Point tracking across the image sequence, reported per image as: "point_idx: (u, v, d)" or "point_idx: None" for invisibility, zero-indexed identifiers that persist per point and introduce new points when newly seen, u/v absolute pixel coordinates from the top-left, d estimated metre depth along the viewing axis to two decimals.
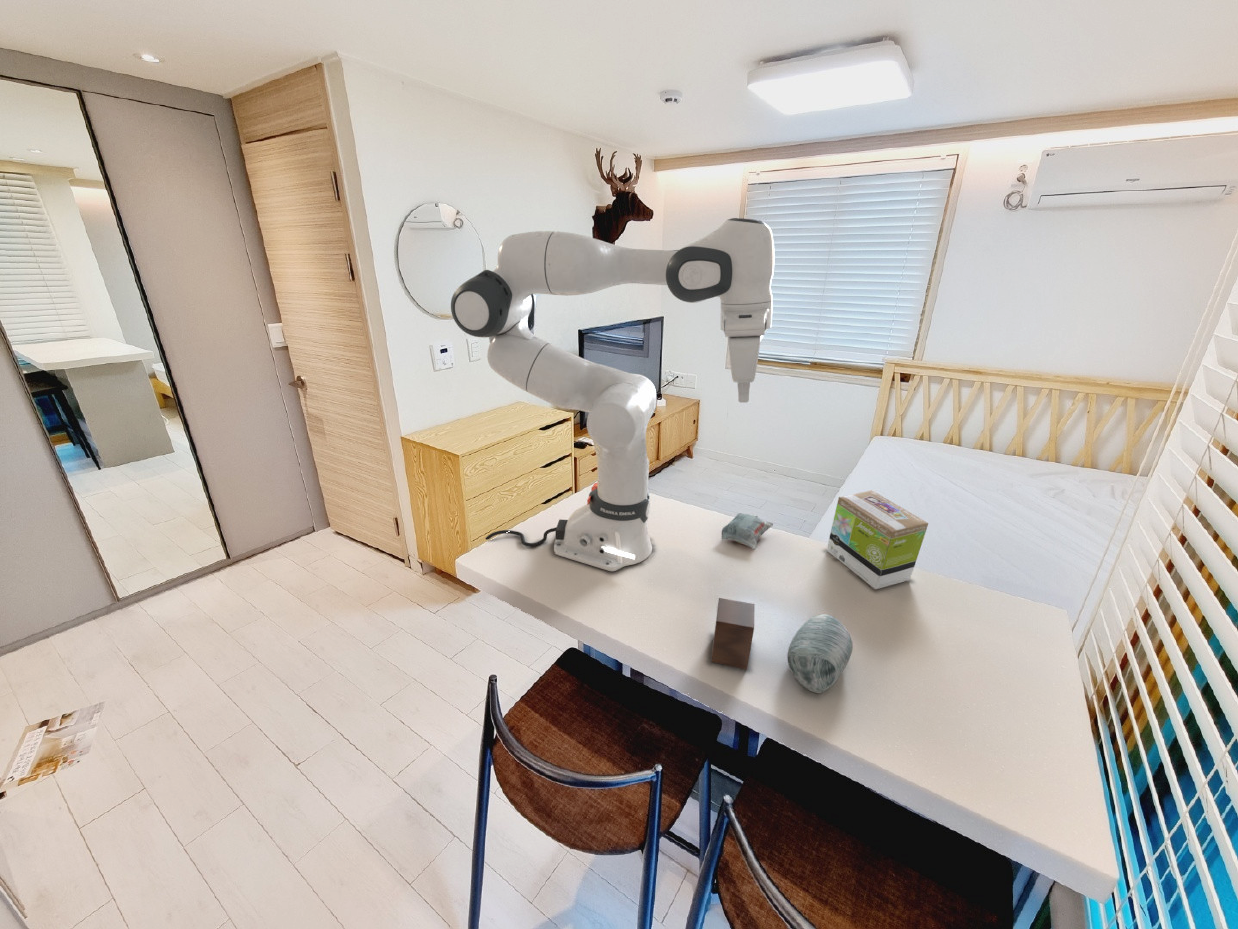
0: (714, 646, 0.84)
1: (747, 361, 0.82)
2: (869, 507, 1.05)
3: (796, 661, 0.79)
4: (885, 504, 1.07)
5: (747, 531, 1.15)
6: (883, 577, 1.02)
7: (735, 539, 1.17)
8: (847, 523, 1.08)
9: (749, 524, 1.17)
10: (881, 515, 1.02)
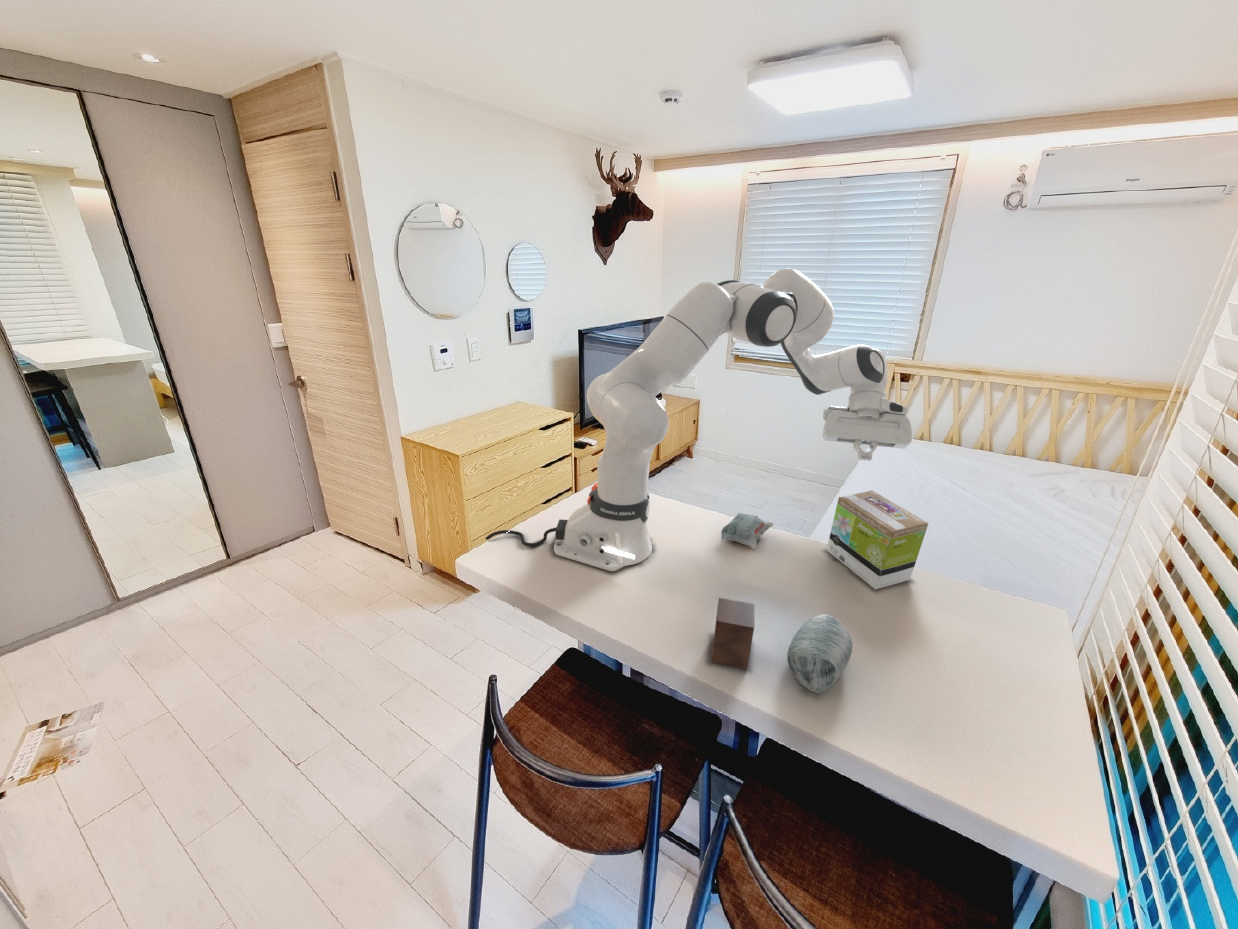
0: (714, 646, 0.84)
1: None
2: (869, 507, 1.05)
3: (796, 661, 0.79)
4: (885, 504, 1.07)
5: (747, 531, 1.15)
6: (883, 577, 1.02)
7: (735, 539, 1.17)
8: (847, 523, 1.08)
9: (749, 524, 1.17)
10: (881, 515, 1.02)
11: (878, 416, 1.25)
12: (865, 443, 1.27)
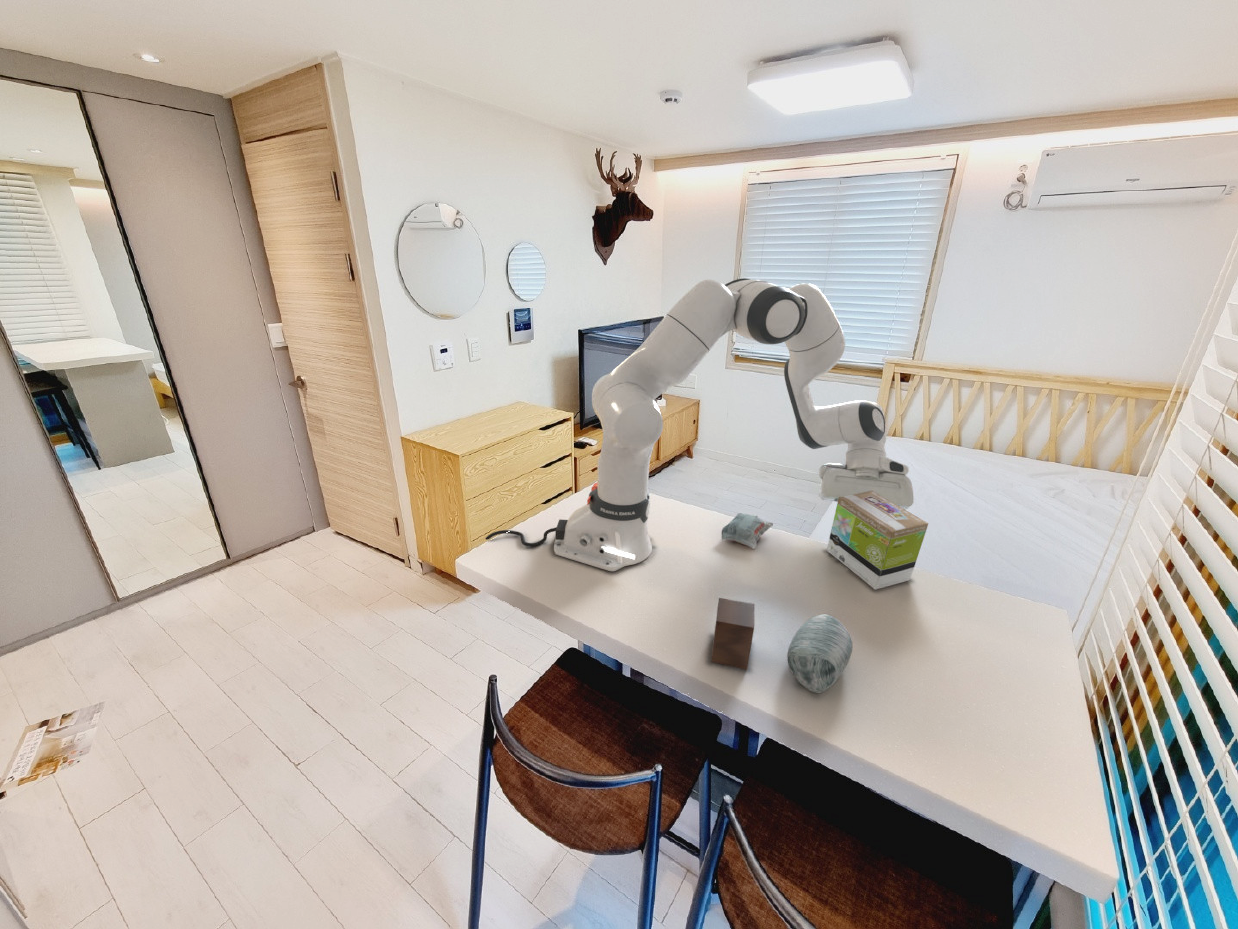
0: (714, 646, 0.84)
1: None
2: (869, 508, 1.05)
3: (796, 661, 0.79)
4: (885, 504, 1.06)
5: (747, 531, 1.15)
6: (883, 578, 1.02)
7: (735, 539, 1.17)
8: (847, 523, 1.08)
9: (749, 524, 1.17)
10: (881, 515, 1.02)
11: (877, 476, 1.18)
12: None
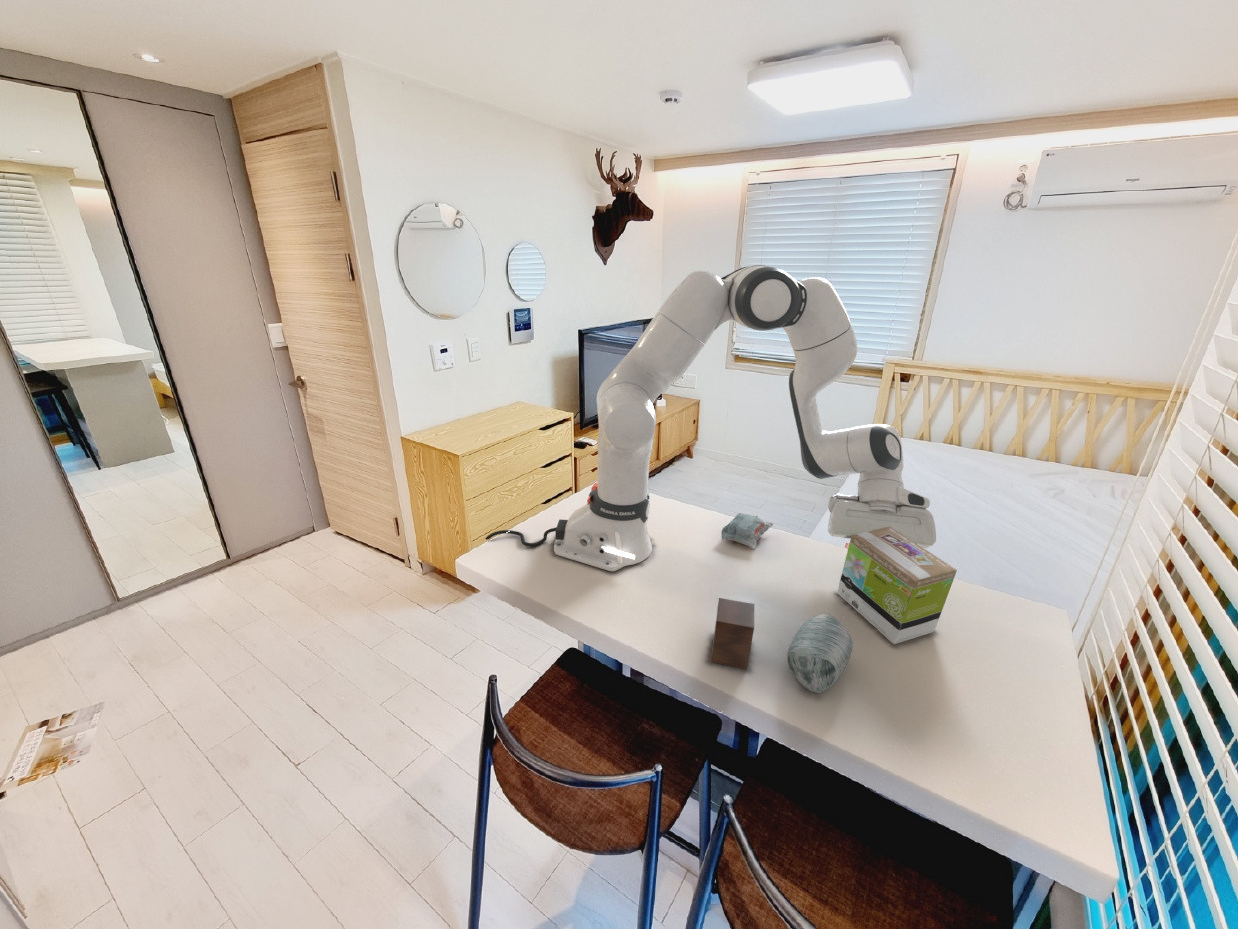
0: (714, 646, 0.84)
1: None
2: (887, 549, 0.91)
3: (796, 661, 0.79)
4: (906, 544, 0.92)
5: (747, 531, 1.15)
6: (903, 631, 0.88)
7: (735, 539, 1.17)
8: (861, 565, 0.94)
9: (749, 524, 1.17)
10: (901, 559, 0.88)
11: (894, 509, 1.04)
12: None
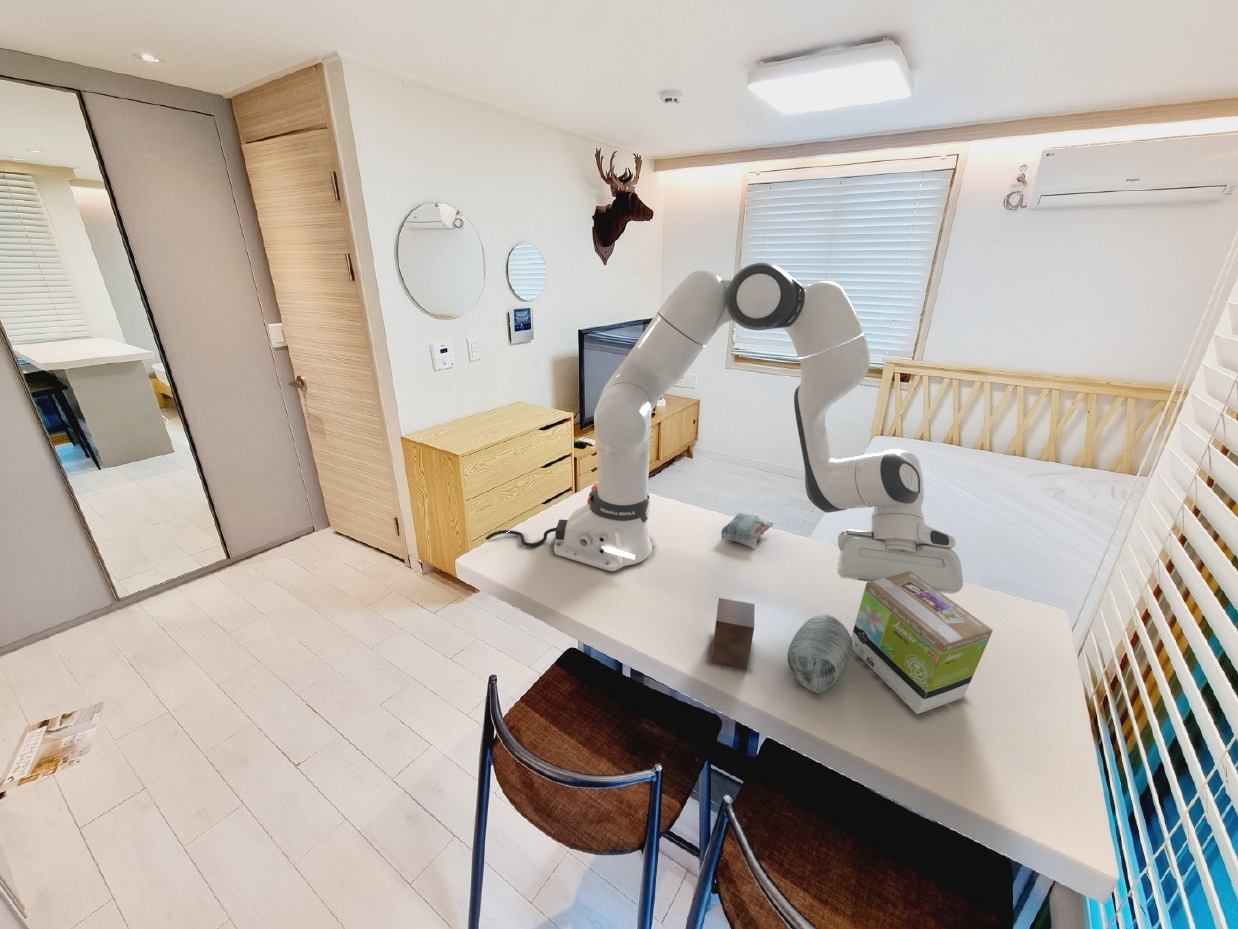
0: (714, 646, 0.84)
1: None
2: (910, 602, 0.78)
3: (796, 661, 0.79)
4: (930, 595, 0.79)
5: (747, 531, 1.15)
6: (928, 700, 0.75)
7: (735, 539, 1.17)
8: (878, 618, 0.81)
9: (749, 524, 1.17)
10: (926, 615, 0.75)
11: (914, 549, 0.91)
12: None
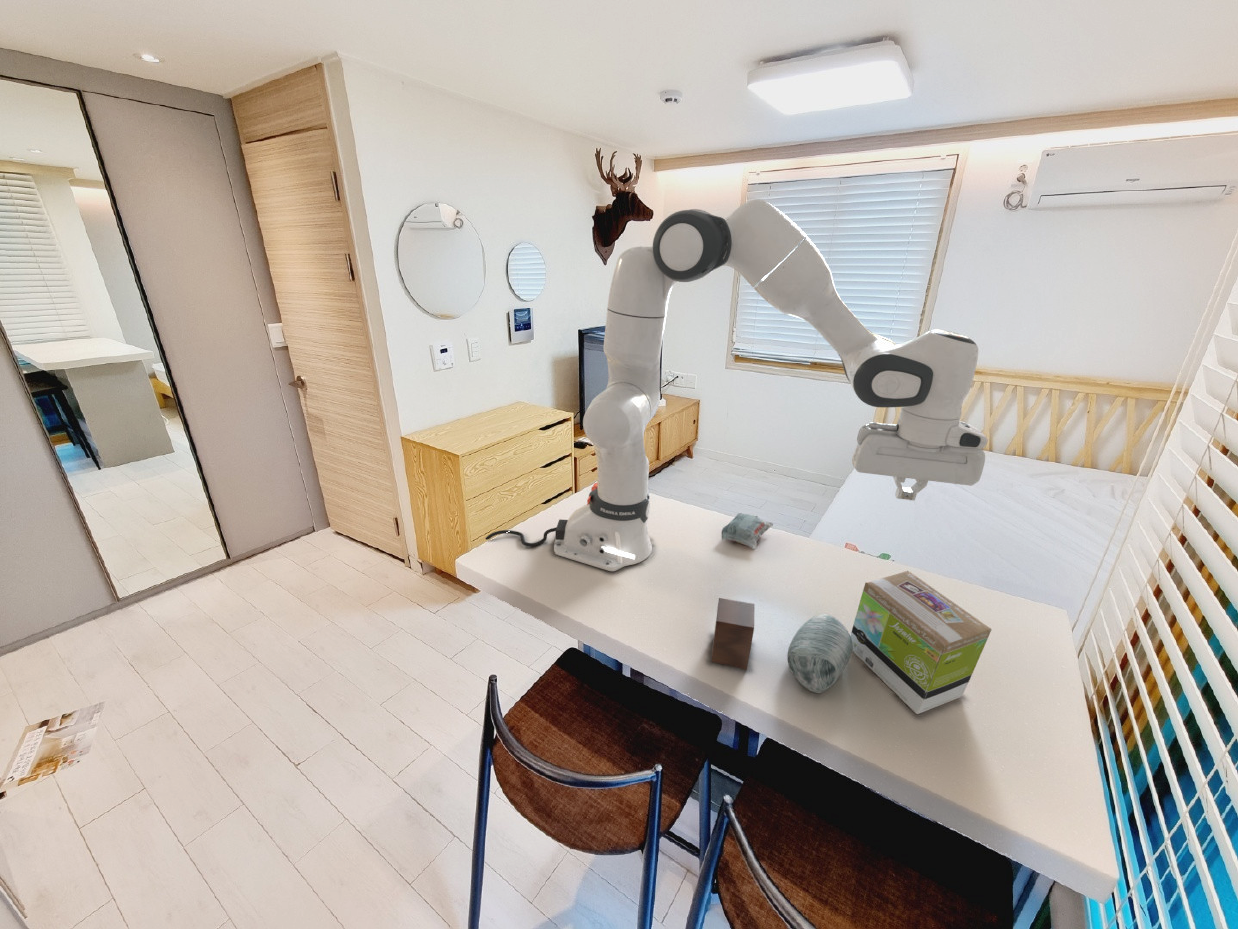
0: (714, 646, 0.84)
1: None
2: (908, 602, 0.78)
3: (796, 661, 0.79)
4: (929, 595, 0.79)
5: (747, 531, 1.15)
6: (928, 700, 0.75)
7: (735, 539, 1.17)
8: (877, 619, 0.81)
9: (749, 524, 1.17)
10: (925, 615, 0.75)
11: (939, 448, 0.85)
12: None
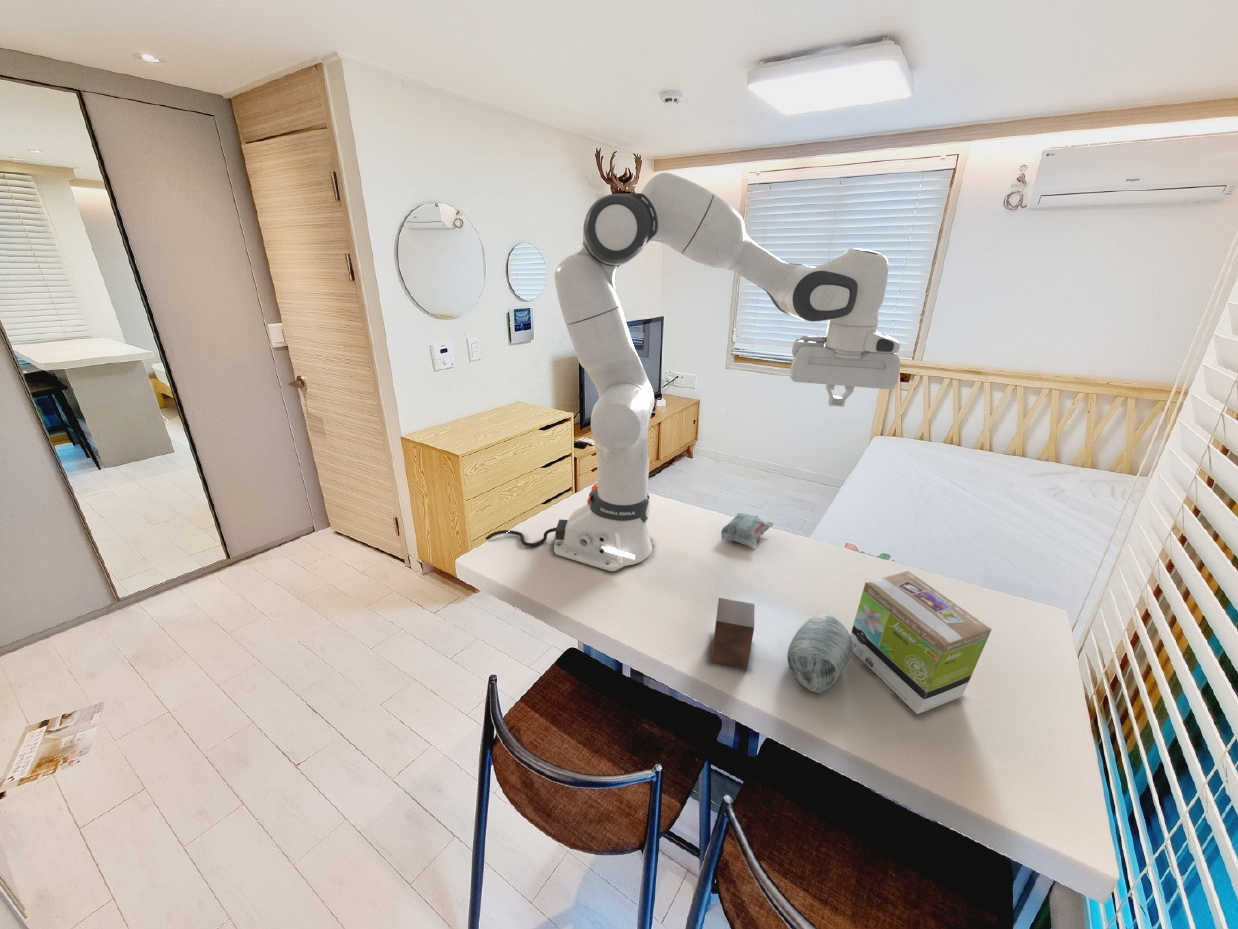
0: (714, 646, 0.84)
1: None
2: (908, 602, 0.78)
3: (796, 661, 0.79)
4: (929, 595, 0.79)
5: (747, 531, 1.15)
6: (928, 700, 0.75)
7: (735, 539, 1.17)
8: (877, 619, 0.81)
9: (749, 524, 1.17)
10: (925, 615, 0.75)
11: (860, 355, 0.98)
12: None
